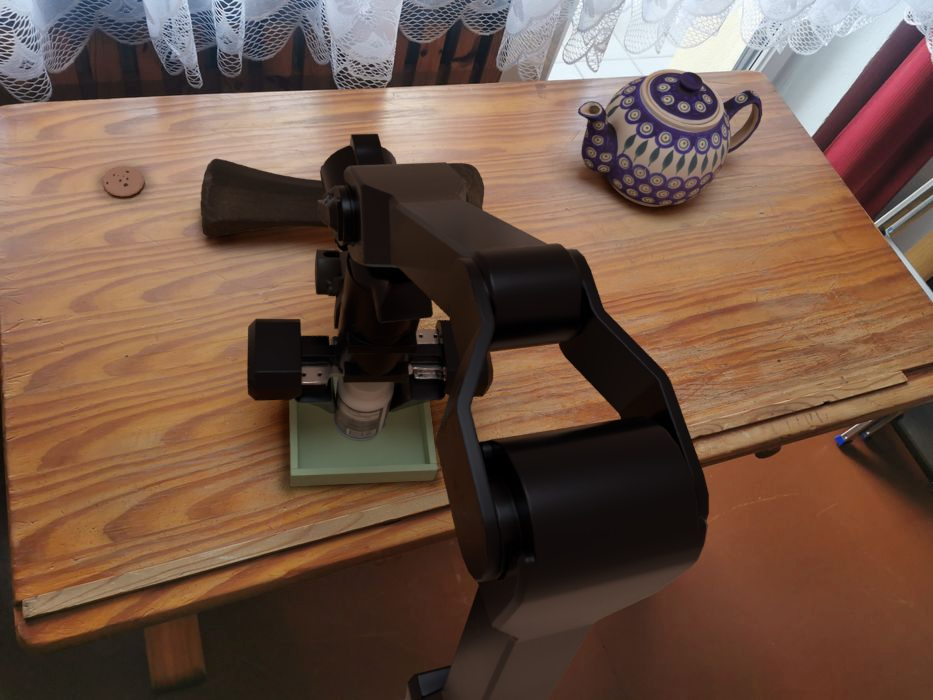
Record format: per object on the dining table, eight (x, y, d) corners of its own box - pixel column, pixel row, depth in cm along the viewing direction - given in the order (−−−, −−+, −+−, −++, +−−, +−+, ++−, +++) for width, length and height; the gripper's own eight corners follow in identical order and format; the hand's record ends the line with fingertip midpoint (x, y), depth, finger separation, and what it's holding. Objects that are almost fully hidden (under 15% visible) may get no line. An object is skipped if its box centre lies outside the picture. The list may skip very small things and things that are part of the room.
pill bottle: (356, 385, 71) (365, 335, 64) (396, 416, 70) (409, 369, 63) (321, 420, 69) (326, 372, 62) (362, 452, 68) (372, 407, 61)
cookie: (100, 197, 77) (99, 190, 76) (105, 167, 79) (103, 160, 78) (143, 199, 78) (141, 192, 77) (146, 170, 80) (145, 162, 79)
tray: (433, 480, 68) (437, 470, 66) (290, 486, 65) (290, 475, 63) (419, 361, 74) (423, 348, 72) (288, 361, 71) (289, 348, 69)
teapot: (704, 130, 102) (762, 33, 90) (752, 216, 95) (823, 124, 83) (529, 135, 95) (567, 29, 82) (567, 229, 88) (615, 129, 75)
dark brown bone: (476, 240, 87) (217, 244, 83) (480, 146, 81) (204, 146, 78) (491, 280, 77) (200, 287, 74) (497, 177, 72) (183, 178, 69)
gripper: (492, 222, 61) (454, 330, 74) (246, 212, 57) (252, 330, 70) (515, 341, 56) (470, 436, 68) (244, 341, 51) (250, 443, 64)
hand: (361, 407), depth 68 cm, fingers closed on pill bottle, 5 cm apart
